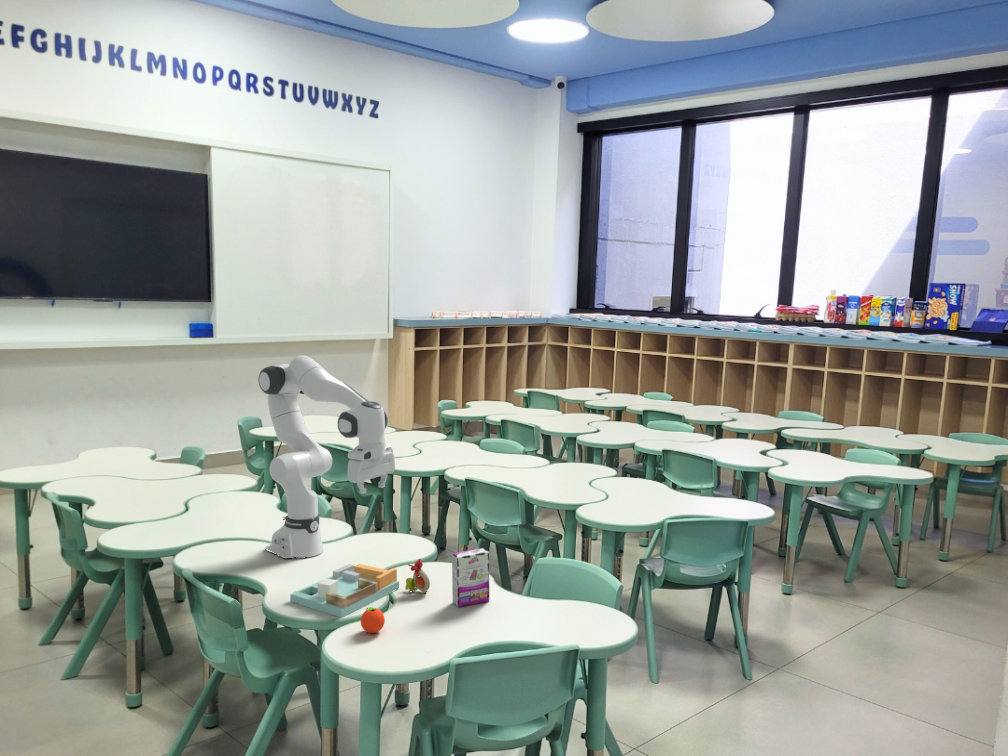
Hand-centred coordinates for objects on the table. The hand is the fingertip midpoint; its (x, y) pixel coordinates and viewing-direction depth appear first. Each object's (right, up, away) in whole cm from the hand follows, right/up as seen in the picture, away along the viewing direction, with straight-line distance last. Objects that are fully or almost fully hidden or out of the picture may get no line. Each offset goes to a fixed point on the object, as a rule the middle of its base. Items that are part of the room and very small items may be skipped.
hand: (372, 490), depth 260 cm
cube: (-11, -31, -18) cm, 37 cm away
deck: (-7, -32, -11) cm, 35 cm away
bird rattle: (+17, -33, -7) cm, 37 cm away
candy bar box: (+34, -34, -15) cm, 50 cm away
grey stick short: (-10, -29, +1) cm, 30 cm away
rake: (0, -29, -5) cm, 30 cm away
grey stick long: (-6, -29, -4) cm, 30 cm away
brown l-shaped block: (-3, -31, -19) cm, 36 cm away
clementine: (+6, -36, -37) cm, 52 cm away
